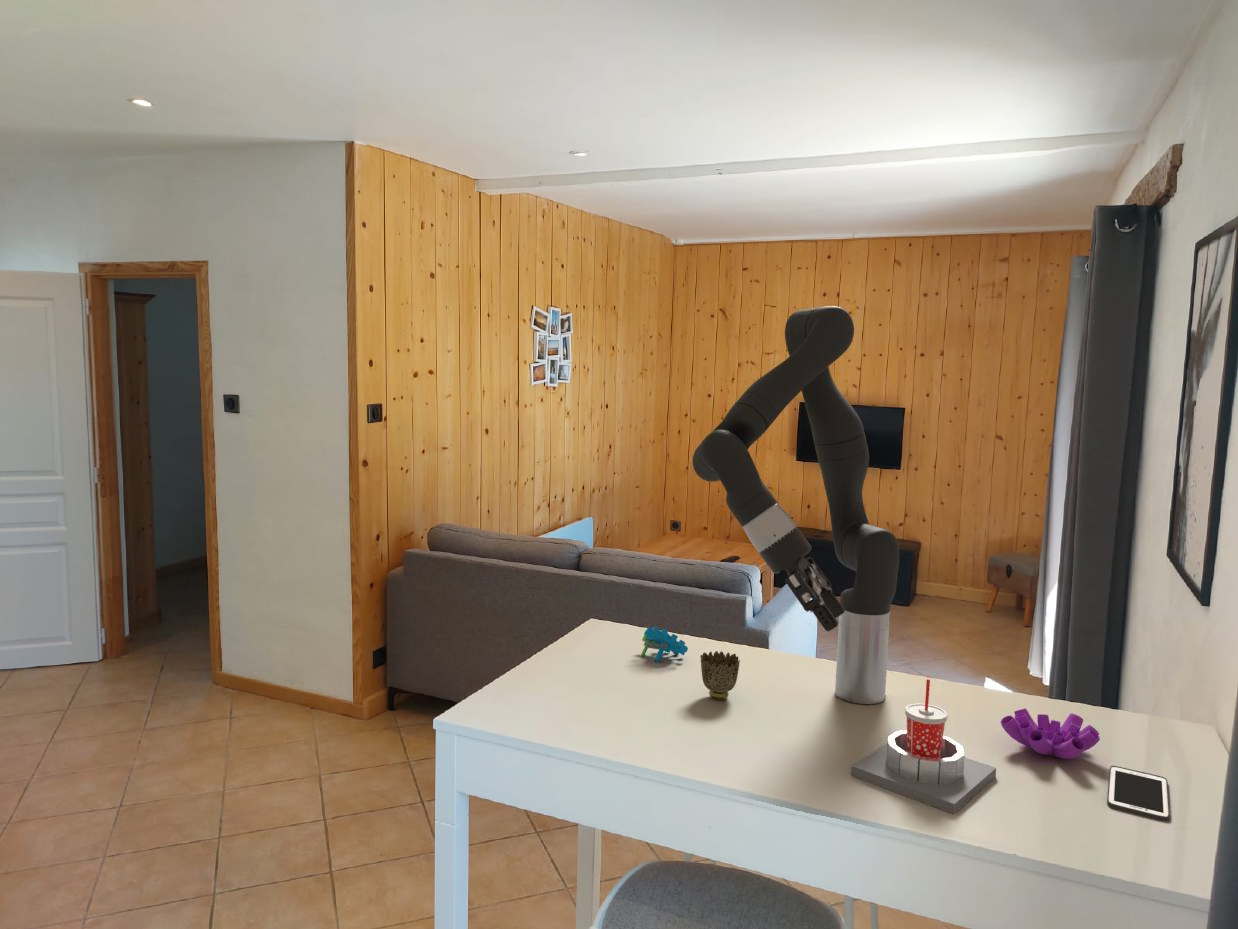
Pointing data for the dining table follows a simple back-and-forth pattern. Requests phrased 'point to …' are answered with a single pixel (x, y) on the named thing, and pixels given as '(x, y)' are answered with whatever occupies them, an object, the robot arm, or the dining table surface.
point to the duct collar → (925, 761)
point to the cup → (719, 673)
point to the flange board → (931, 794)
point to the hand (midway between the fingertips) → (836, 621)
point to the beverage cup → (925, 728)
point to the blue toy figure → (662, 642)
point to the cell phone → (1138, 793)
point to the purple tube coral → (1051, 734)
